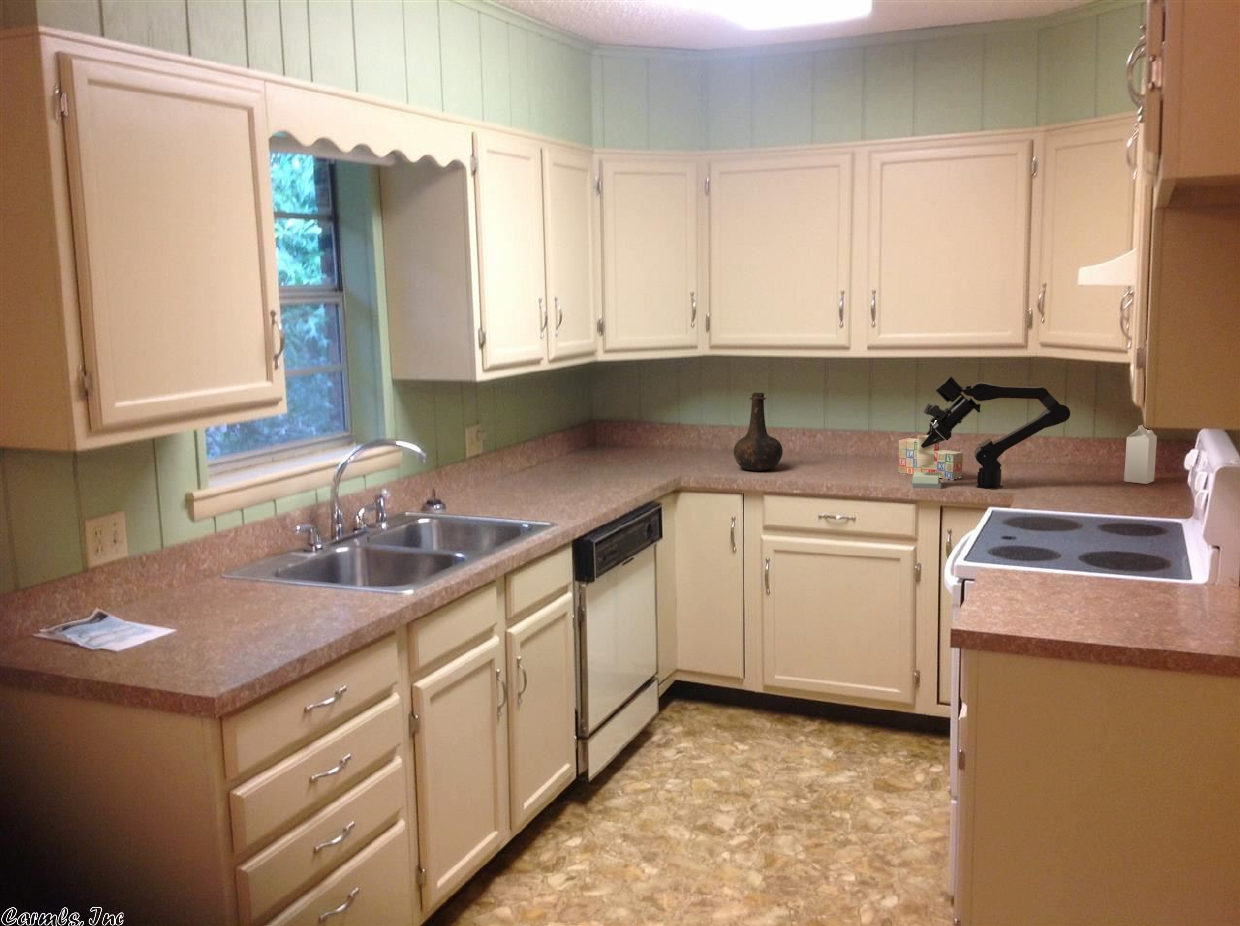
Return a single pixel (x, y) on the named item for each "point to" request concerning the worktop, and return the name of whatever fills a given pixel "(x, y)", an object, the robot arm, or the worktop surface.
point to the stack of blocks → (944, 460)
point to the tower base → (926, 485)
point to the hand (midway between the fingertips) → (921, 445)
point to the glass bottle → (757, 441)
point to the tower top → (925, 477)
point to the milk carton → (1140, 456)
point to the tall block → (925, 453)
